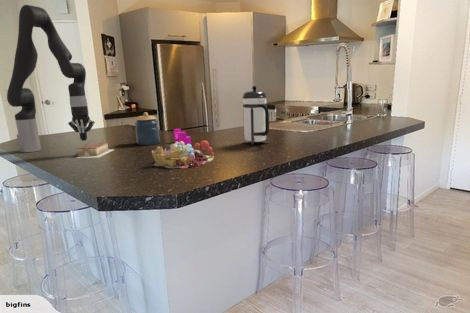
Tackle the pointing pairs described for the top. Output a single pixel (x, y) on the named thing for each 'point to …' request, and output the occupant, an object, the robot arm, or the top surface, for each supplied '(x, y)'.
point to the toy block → (181, 137)
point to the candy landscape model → (182, 155)
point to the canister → (147, 130)
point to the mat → (96, 156)
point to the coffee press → (255, 116)
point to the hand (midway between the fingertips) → (84, 140)
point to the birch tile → (92, 149)
